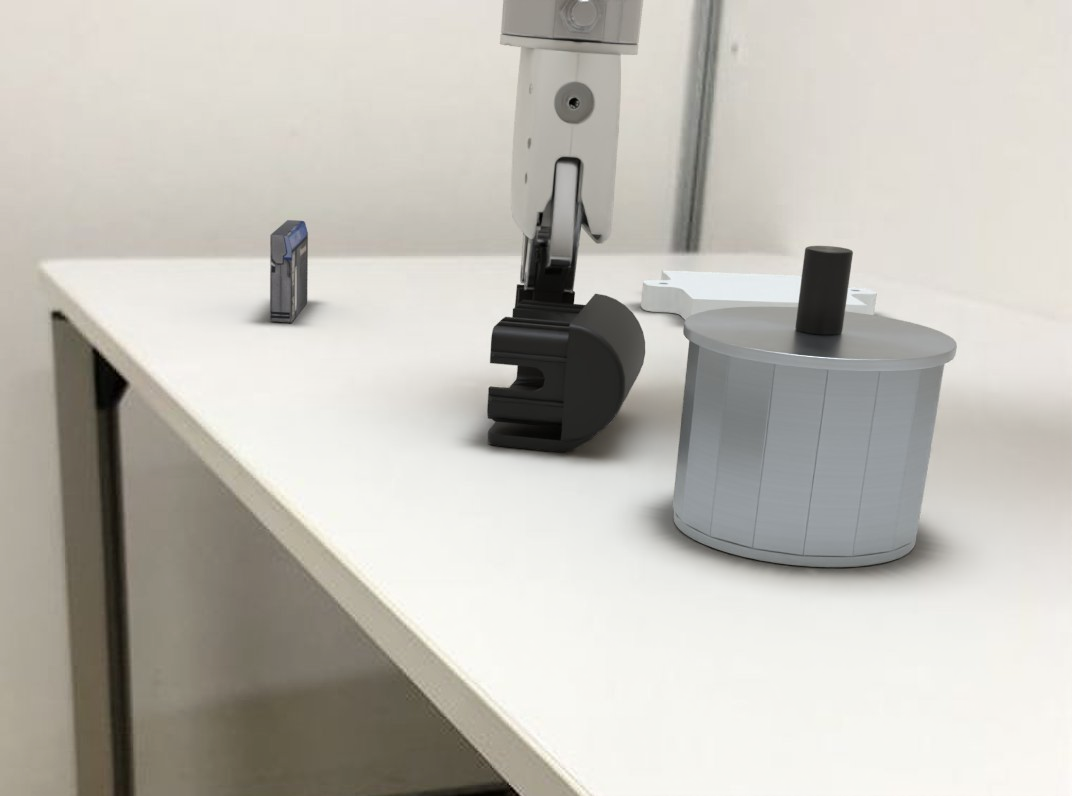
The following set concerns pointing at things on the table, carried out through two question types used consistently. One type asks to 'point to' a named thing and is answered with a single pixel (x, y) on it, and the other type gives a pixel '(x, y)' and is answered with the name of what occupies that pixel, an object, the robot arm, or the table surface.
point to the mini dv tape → (288, 271)
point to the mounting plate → (734, 292)
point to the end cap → (563, 372)
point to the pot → (803, 460)
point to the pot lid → (821, 327)
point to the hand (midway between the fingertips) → (539, 356)
